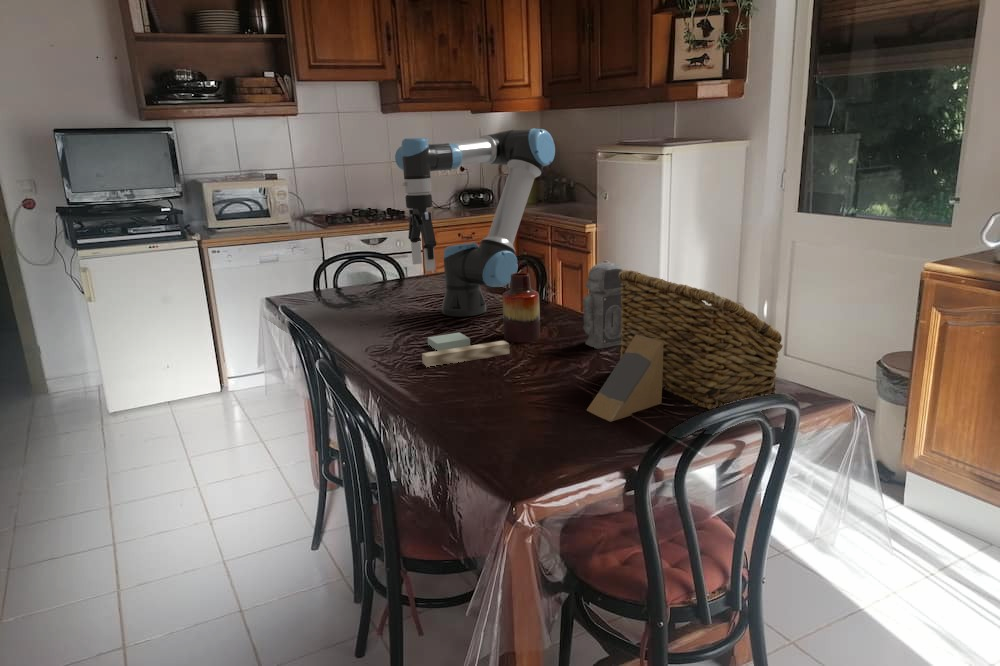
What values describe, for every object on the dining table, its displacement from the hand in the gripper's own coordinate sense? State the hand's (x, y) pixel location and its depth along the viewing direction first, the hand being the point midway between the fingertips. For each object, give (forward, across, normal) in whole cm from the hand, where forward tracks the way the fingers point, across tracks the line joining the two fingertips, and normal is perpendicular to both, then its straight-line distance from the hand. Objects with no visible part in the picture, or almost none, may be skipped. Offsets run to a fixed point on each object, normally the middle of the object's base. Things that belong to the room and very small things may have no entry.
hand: (423, 267), depth 210 cm
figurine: (+23, +30, +43) cm, 58 cm away
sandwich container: (+23, +74, +22) cm, 81 cm away
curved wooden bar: (+23, +25, +3) cm, 34 cm away
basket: (+24, +68, +47) cm, 86 cm away
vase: (+23, +13, +25) cm, 37 cm away
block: (+23, +11, +3) cm, 26 cm away
